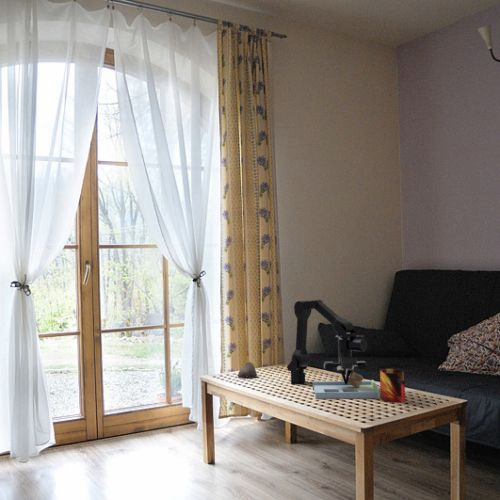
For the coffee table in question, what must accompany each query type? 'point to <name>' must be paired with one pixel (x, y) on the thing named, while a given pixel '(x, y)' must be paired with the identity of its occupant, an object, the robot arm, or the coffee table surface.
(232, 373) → the coffee table surface
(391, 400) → the mug
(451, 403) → the coffee table surface
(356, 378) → the block
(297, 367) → the robot arm
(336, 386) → the trap box
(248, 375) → the stone
